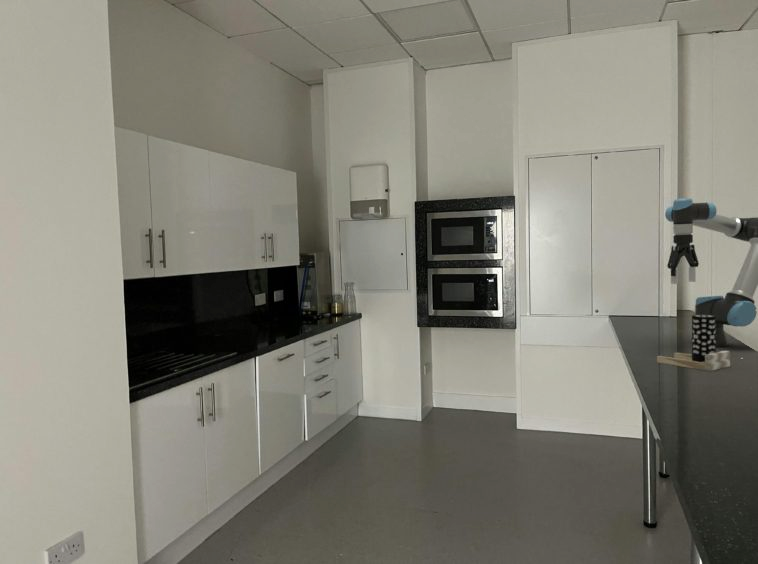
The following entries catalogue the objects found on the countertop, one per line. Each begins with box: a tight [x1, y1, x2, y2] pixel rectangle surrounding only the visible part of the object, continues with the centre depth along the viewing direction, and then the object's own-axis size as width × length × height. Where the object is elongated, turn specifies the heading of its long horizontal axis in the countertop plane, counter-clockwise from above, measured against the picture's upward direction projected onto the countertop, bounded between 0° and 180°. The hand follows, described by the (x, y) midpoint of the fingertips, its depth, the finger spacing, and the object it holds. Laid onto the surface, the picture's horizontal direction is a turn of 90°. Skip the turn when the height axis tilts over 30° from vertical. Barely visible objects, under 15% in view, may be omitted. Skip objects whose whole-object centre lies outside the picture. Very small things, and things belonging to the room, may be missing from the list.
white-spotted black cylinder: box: [691, 314, 717, 363], centre depth 235 cm, size 8×8×20 cm
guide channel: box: [656, 350, 731, 372], centre depth 239 cm, size 14×22×6 cm, turn 31°
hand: (683, 282), depth 260 cm, fingers open, 13 cm apart
